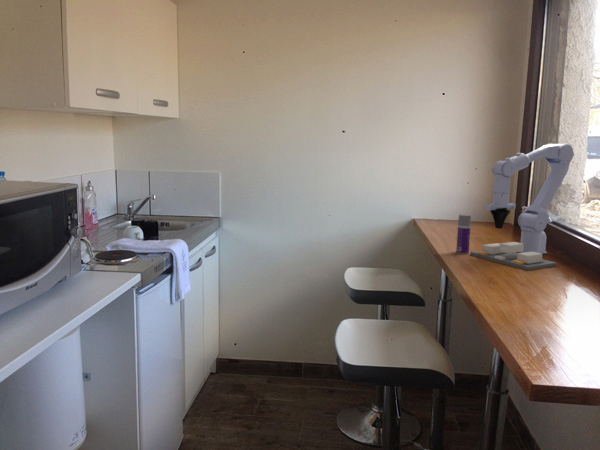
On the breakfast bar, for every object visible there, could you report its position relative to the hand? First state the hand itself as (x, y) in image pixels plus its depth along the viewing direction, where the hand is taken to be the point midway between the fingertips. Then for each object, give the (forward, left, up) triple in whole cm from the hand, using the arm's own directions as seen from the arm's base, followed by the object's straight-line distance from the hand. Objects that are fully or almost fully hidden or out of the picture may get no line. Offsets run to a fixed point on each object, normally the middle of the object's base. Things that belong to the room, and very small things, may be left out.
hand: (498, 228), depth 203 cm
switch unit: (+2, +9, -10) cm, 14 cm away
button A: (+3, +1, -9) cm, 9 cm away
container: (+10, -8, -11) cm, 17 cm away
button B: (+3, +9, -7) cm, 12 cm away
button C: (+3, +17, -9) cm, 19 cm away
